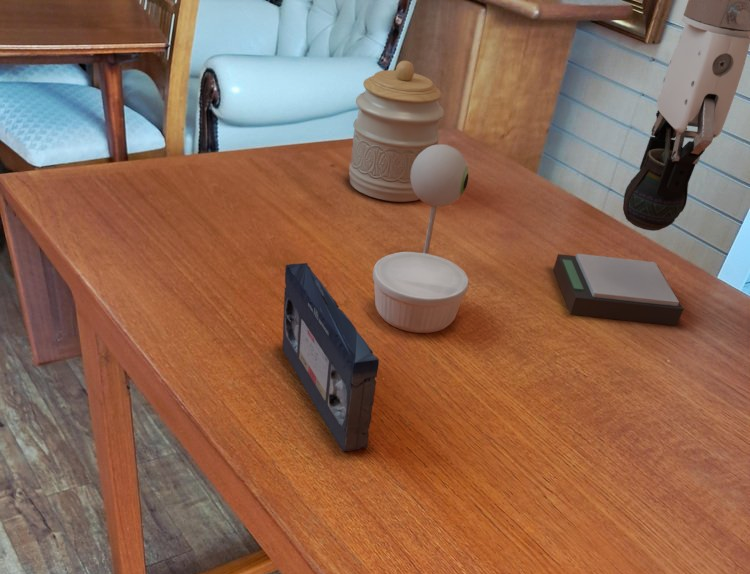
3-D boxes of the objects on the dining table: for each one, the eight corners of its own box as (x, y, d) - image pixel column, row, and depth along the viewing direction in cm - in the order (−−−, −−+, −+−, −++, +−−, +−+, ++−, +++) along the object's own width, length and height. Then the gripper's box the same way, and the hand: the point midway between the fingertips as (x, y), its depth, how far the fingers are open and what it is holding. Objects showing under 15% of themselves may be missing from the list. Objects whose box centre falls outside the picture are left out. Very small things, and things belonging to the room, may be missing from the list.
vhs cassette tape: (280, 348, 85) (284, 262, 79) (306, 346, 86) (313, 261, 80) (338, 455, 73) (349, 364, 67) (367, 450, 74) (381, 360, 68)
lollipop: (442, 280, 102) (466, 162, 92) (390, 266, 103) (407, 147, 93) (456, 258, 107) (479, 144, 97) (406, 245, 108) (424, 131, 98)
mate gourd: (630, 236, 94) (662, 152, 87) (606, 205, 99) (635, 124, 92) (683, 237, 96) (720, 155, 89) (657, 207, 101) (689, 127, 94)
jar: (330, 178, 122) (341, 51, 110) (390, 165, 130) (406, 45, 118) (387, 210, 116) (405, 79, 104) (447, 194, 123) (470, 70, 111)
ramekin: (391, 344, 89) (398, 302, 85) (353, 295, 96) (357, 255, 92) (477, 333, 93) (487, 292, 89) (434, 287, 100) (441, 247, 96)
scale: (651, 281, 109) (659, 260, 107) (676, 325, 100) (686, 304, 98) (553, 270, 108) (559, 249, 106) (570, 314, 99) (577, 292, 97)
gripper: (790, 37, 76) (713, 217, 88) (728, -2, 89) (669, 161, 101) (716, 26, 75) (649, 209, 87) (665, -11, 88) (612, 154, 100)
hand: (660, 182), depth 94 cm, fingers closed on mate gourd, 6 cm apart
